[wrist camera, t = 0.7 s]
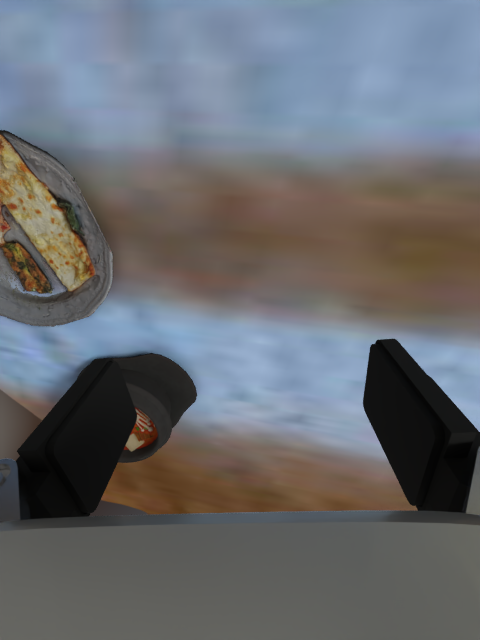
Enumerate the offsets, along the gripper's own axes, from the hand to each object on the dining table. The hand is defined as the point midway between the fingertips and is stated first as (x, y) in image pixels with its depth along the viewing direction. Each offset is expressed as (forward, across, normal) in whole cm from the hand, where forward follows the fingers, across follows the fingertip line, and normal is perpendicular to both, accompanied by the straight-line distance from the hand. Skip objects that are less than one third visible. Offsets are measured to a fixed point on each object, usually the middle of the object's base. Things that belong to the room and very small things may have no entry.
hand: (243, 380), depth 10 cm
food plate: (+30, +30, -2) cm, 43 cm away
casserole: (+30, +23, +26) cm, 46 cm away
